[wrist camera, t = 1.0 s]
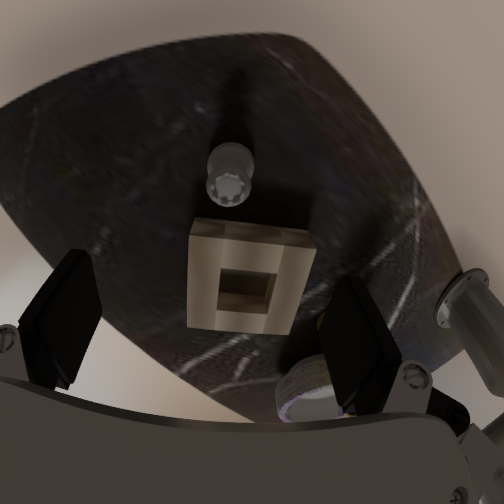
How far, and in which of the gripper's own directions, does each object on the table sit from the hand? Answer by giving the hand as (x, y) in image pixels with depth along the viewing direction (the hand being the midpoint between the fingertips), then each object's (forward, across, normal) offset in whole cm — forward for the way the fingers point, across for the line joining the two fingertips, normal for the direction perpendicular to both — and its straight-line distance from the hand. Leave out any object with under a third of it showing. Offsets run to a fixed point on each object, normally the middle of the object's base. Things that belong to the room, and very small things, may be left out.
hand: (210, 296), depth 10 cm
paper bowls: (+19, -18, +31) cm, 40 cm away
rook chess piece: (+19, 0, 0) cm, 19 cm away
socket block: (+19, -3, +12) cm, 22 cm away
